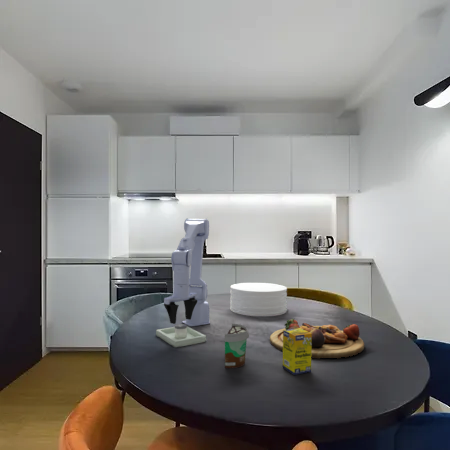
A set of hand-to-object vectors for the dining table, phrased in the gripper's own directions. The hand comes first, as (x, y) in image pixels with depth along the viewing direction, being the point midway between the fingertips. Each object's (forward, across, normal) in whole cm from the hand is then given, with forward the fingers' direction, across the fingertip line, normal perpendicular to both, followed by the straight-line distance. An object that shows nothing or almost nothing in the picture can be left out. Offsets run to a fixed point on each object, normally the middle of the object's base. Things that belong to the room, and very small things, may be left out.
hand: (180, 321), depth 126 cm
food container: (+6, +5, +30) cm, 31 cm away
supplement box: (+6, -2, +46) cm, 46 cm away
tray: (+6, 0, 0) cm, 6 cm away
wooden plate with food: (+7, -28, +39) cm, 49 cm away
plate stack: (+7, -58, -5) cm, 59 cm away
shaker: (+6, 0, 0) cm, 6 cm away
